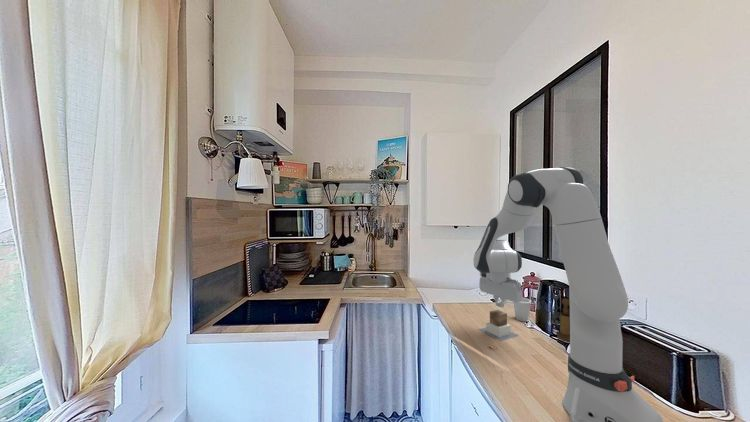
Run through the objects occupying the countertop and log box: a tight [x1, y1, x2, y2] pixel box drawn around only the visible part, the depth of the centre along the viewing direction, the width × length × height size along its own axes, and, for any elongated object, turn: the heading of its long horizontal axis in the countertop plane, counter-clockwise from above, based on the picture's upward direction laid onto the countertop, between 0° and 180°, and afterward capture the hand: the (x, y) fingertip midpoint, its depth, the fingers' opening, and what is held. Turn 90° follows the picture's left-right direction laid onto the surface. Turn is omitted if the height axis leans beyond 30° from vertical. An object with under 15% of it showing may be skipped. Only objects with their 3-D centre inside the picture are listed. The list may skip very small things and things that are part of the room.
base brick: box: [485, 320, 511, 337], centre depth 120 cm, size 7×7×4 cm
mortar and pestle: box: [556, 297, 570, 343], centre depth 115 cm, size 7×6×18 cm
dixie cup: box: [513, 297, 532, 322], centre depth 137 cm, size 8×8×10 cm
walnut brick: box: [489, 309, 508, 327], centre depth 119 cm, size 5×5×5 cm
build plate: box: [477, 327, 520, 342], centre depth 120 cm, size 12×12×1 cm
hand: (499, 306), depth 120 cm, fingers closed
